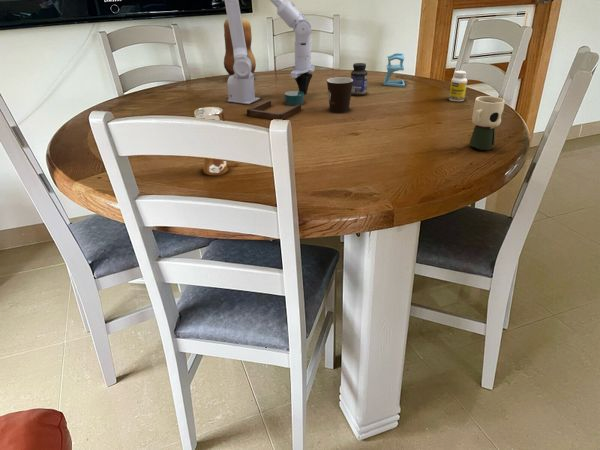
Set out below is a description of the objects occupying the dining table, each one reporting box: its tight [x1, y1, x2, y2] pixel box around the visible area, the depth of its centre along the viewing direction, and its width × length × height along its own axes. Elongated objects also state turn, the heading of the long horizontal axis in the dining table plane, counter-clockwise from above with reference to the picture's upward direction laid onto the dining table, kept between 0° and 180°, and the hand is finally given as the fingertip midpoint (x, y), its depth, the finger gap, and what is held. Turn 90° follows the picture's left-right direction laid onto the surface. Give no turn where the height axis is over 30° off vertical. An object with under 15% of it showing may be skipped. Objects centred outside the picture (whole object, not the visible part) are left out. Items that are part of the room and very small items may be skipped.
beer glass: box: [193, 106, 229, 176], centre depth 110 cm, size 7×7×15 cm
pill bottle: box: [350, 62, 368, 97], centre depth 172 cm, size 6×6×11 cm
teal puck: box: [284, 90, 305, 107], centre depth 165 cm, size 7×7×4 cm
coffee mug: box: [326, 76, 353, 114], centre depth 156 cm, size 12×9×10 cm
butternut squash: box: [223, 16, 257, 77], centre depth 194 cm, size 14×13×25 cm
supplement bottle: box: [448, 70, 468, 103], centre depth 163 cm, size 5×5×10 cm
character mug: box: [468, 95, 506, 151], centre depth 120 cm, size 11×7×13 cm, turn 130°
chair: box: [382, 52, 406, 88], centre depth 184 cm, size 8×8×12 cm
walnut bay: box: [246, 99, 302, 121], centre depth 155 cm, size 13×13×2 cm
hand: (303, 94), depth 170 cm, fingers closed
